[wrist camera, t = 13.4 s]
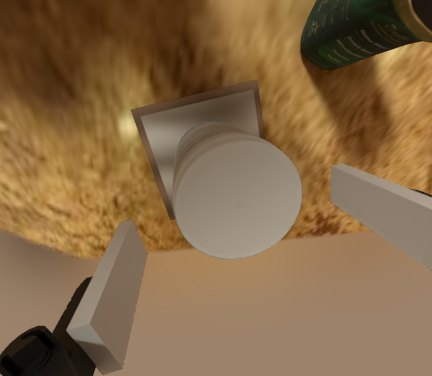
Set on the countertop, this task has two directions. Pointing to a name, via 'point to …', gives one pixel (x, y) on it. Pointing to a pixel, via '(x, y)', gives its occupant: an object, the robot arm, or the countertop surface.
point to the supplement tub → (233, 191)
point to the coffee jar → (363, 29)
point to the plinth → (187, 118)
